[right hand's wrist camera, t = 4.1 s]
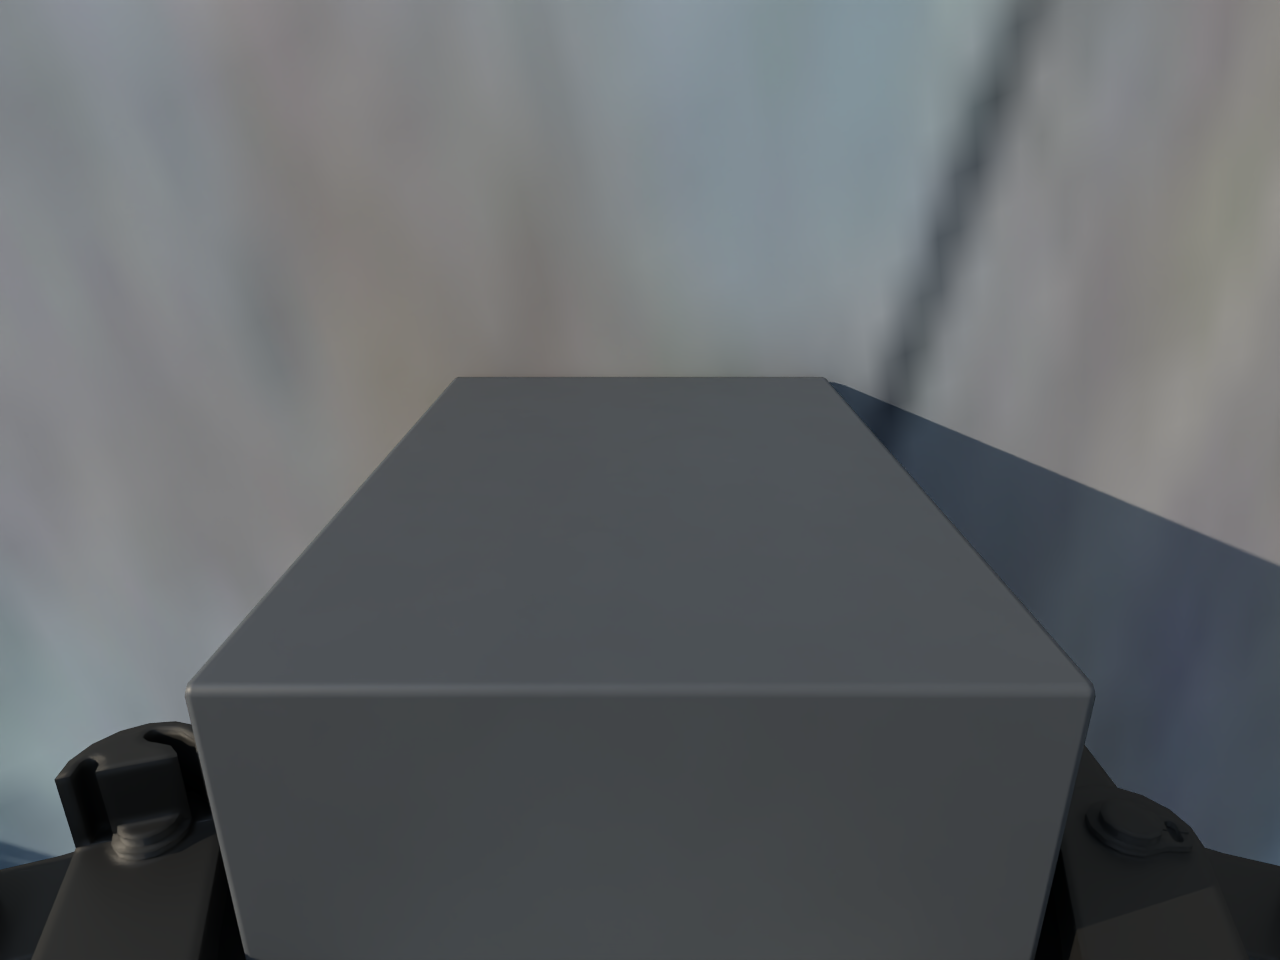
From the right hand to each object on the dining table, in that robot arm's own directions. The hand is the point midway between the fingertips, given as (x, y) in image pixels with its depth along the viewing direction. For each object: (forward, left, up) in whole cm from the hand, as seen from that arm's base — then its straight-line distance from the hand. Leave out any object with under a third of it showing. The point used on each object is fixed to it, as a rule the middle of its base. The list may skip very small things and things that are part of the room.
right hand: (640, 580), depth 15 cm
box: (+3, +10, -1) cm, 10 cm away
